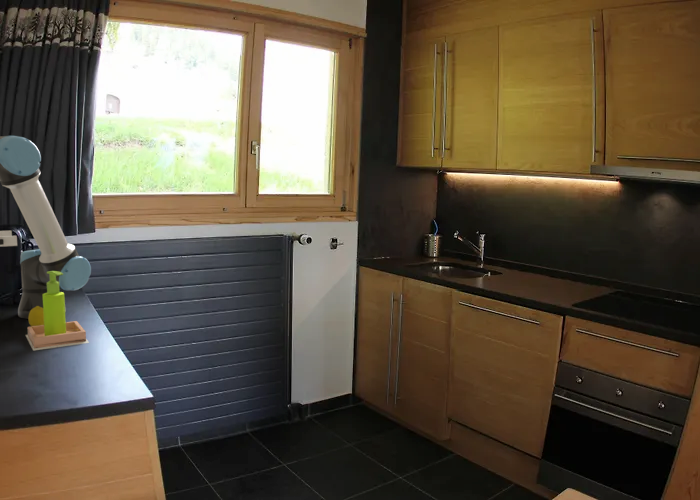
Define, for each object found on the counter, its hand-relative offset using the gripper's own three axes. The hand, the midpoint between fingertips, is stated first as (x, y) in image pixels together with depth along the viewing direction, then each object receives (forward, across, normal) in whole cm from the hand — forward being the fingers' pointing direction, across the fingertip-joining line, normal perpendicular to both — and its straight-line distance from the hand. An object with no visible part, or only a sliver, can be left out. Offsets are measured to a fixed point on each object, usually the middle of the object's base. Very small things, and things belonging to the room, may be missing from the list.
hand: (14, 237), depth 179 cm
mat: (+10, 0, -32) cm, 33 cm away
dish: (+10, 0, -31) cm, 33 cm away
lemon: (+7, -15, -32) cm, 36 cm away
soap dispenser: (+10, 0, -31) cm, 32 cm away
